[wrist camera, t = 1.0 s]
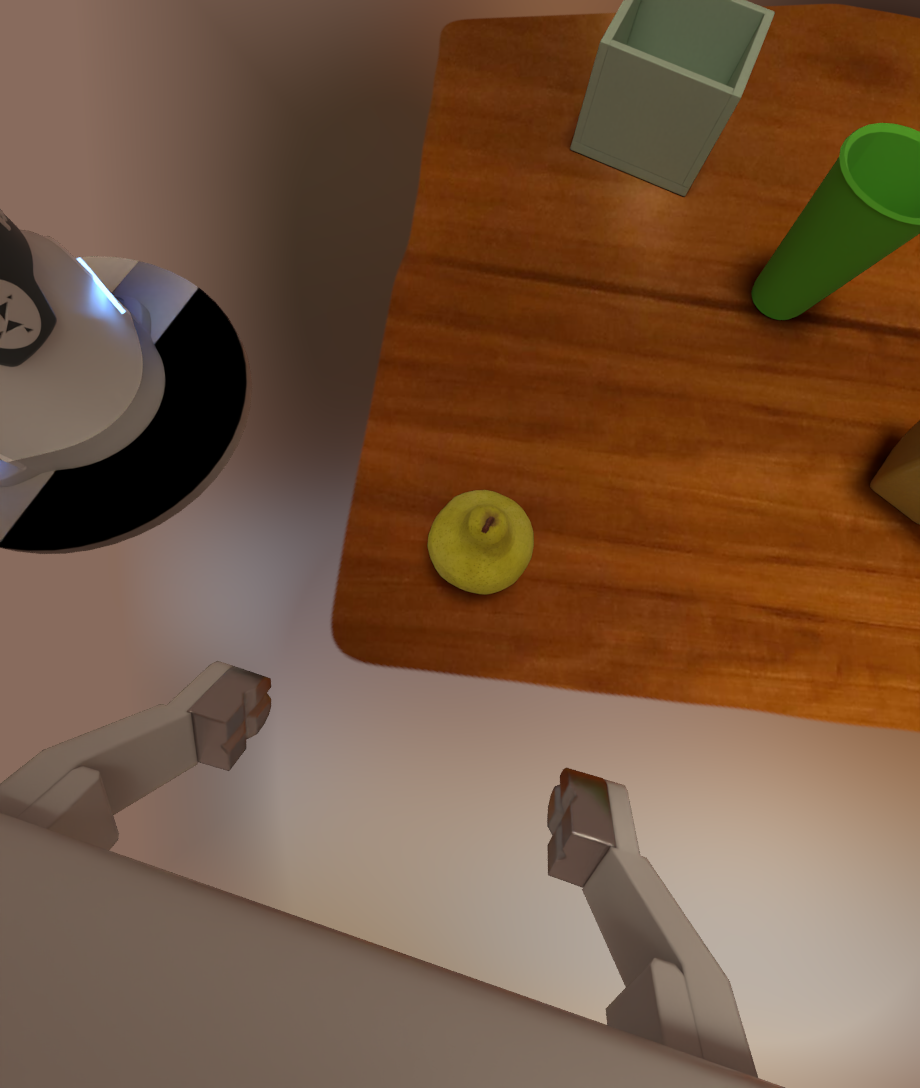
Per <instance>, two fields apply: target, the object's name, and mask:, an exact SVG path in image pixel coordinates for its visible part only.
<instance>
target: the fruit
mask: <svg viewBox="0 0 920 1088" xmlns="http://www.w3.org/2000/svg"><path fill="white" fill-rule="evenodd" d="M533 545H534V535H533V529H532V526H531V522H530V520H529V518H528V517H527V515H526V513H525V512H524V511H523V509H522V508H521V507H520V506H519V505H518V504H517V503H516V502H515V501H513V500H511V499H509V498H507V497H505V496H503V495H501V494H499V493H496V492H493V491H488V490H477V491H471V492H466V493H463V494H460V495H458V496H456V497H454V498H453V499H452V500H451V501H450V502H449V503H448V504H447V505H446V506H445V507H444V508H443V509H442V510H441V511H440V513H439V514H438V515H437V517H436V518H435V520H434V522H433V524H432V526H431V529H430V532H429V535H428V544H427V547H428V551H429V555H430V558H431V560H432V563H433V565H434V567H435V569H436V570H437V572H438V573H439V574H440V576H441V577H442V578H444V579H445V580H446V581H448V582H449V583H451V584H452V585H454V586H456V587H458V588H460V589H462V590H465V591H468V592H472V593H476V594H486V595H488V594H492V593H495V592H498V591H501V590H503V589H505V588H507V587H509V586H510V585H512V584H514V583H515V581H516V580H517V579H518V578H519V577H520V576H521V574H522V573H523V572H524V570H525V569H526V567H527V565H528V563H529V561H530V559H531V557H532V552H533Z"/></svg>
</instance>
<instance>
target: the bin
mask: <svg viewBox="0 0 920 1088" xmlns="http://www.w3.org/2000/svg"><path fill="white" fill-rule="evenodd" d="M774 14H775V12H774V11H771V10H769V9H767V10H766V8H763V7H761V6H758V5H756V4H753V3H751V2H748V1H746V0H624V1H623V3H622V4H621V6H620V8H619V10H618V11H617V13H616V15H615V17H614V18H613V20H612V22H611V24H610V26H609V27H608V29H607V31H606V33H605V34H604V36H603V38H602V40H601V41H600V45H599V48H598V52H597V55H596V59H595V62H594V66H593V70H592V73H591V77H590V80H589V84H588V87H587V91H586V94H585V98H584V101H583V105H582V109H581V112H580V116H579V119H578V123H577V126H576V130H575V133H574V137H573V141H572V144H571V148H570V149H571V150H573V151H575V152H578V153H580V154H583V155H585V156H587V157H590V158H592V159H595V160H597V161H599V162H602V163H604V164H607V165H609V166H612V167H614V168H616V169H619V170H621V171H624V172H626V173H628V174H631V175H633V176H636V177H638V178H640V179H643V180H645V181H648V182H650V183H652V184H655V185H657V186H660V187H662V188H665V189H667V190H669V191H672V192H674V193H677V194H679V195H681V196H684V197H685V195H686V194H687V192H688V190H689V188H690V187H691V185H692V183H693V181H694V180H695V178H696V176H697V174H698V173H699V171H700V169H701V167H702V165H703V164H704V162H705V160H706V158H707V157H708V155H709V153H710V151H711V150H712V148H713V146H714V144H715V143H716V141H717V139H718V137H719V136H720V134H721V132H722V130H723V129H724V127H725V125H726V123H727V121H728V120H729V118H730V116H731V114H732V113H733V111H734V109H735V107H736V106H737V104H738V102H739V100H740V99H741V96H742V94H743V91H744V89H745V86H746V84H747V81H748V79H749V76H750V74H751V71H752V69H753V66H754V64H755V61H756V59H757V56H758V54H759V51H760V49H761V46H762V44H763V41H764V39H765V36H766V34H767V31H768V29H769V26H770V24H771V21H772V19H773V16H774Z"/></svg>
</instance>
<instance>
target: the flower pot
mask: <svg viewBox="0 0 920 1088" xmlns="http://www.w3.org/2000/svg"><path fill="white" fill-rule="evenodd" d="M870 487H871V489H872V490H873V491H874V492H876V493H877V494H878V495H880V496H881V497H882V498H884V499H885V500H886V501H888V502H889V503H890V504H892V505H893V506H894V507H896V508H897V509H898V510H899V511H901V512H902V513H903V514H904V515H906V516H907V517H908V518H910V519H911V520H912V521H914V522H915V523H917V524H920V420H919V421H918V422H917V423H916V424H915V425H914V426H913V427H912V428H911V429H910V430H909V431H908V432H907V433H906V434H905V435H904V436H903V438H902V439H901V440H900V441H899V442H898V443H897V445H896V446H895V447H894V448H893V449H892V451H891V453H890V454H889V456H888V457H887V459H886V460H885V462H884V463H883V465H882V466H881V468H880V469H879V471H878V472H877V474H876V475H875V476H874V478H873V479H872V481H871V483H870Z"/></svg>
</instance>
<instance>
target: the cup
mask: <svg viewBox="0 0 920 1088" xmlns="http://www.w3.org/2000/svg"><path fill="white" fill-rule="evenodd" d="M919 233H920V132H919V131H916V130H914V129H912V128H909V127H905V126H901V125H897V124H889V123H877V124H870V125H867V126H864V127H862V128H860V129H858V130H856V131H855V132H853V133H852V134H851V135H850V136H849V137H847V138H846V139H845V141H844V143H843V145H842V146H841V149H840V156H839V158H838V159H837V161H836V162H835V164H834V165H833V167H832V168H831V170H830V171H829V173H828V174H827V176H826V177H825V179H824V180H823V182H822V183H821V184H820V186H819V187H818V189H817V190H816V192H815V193H814V195H813V196H812V198H811V199H810V201H809V202H808V204H807V205H806V207H805V208H804V210H803V211H802V213H801V214H800V216H799V217H798V219H797V220H796V221H795V223H794V224H793V226H792V227H791V229H790V230H789V232H788V233H787V235H786V236H785V238H784V239H783V241H782V242H781V244H780V245H779V247H778V248H777V250H776V251H775V253H774V254H773V255H772V257H771V258H770V260H769V261H768V263H767V264H766V266H765V267H764V269H763V270H762V272H761V273H760V275H759V276H758V278H757V279H756V281H755V283H754V287H753V289H752V299H753V302H754V304H755V305H756V307H757V308H758V309H759V310H760V311H761V312H762V313H763V314H765V315H766V316H768V317H770V318H772V319H776V320H788V319H791V318H793V317H796V316H798V315H800V314H802V313H803V312H805V311H806V310H808V309H809V308H811V307H812V306H814V305H815V304H817V303H818V302H820V301H821V300H822V299H824V298H825V297H827V296H828V295H830V294H831V293H833V292H834V291H836V290H837V289H839V288H840V287H842V286H843V285H845V284H846V283H847V282H849V281H850V280H852V279H853V278H855V277H856V276H858V275H859V274H861V273H862V272H864V271H865V270H867V269H868V268H870V267H871V266H872V265H874V264H875V263H877V262H878V261H880V260H881V259H883V258H884V257H886V256H887V255H889V254H890V253H892V252H893V251H895V250H896V249H897V248H899V247H900V246H902V245H903V244H905V243H906V242H908V241H909V240H911V239H912V238H914V237H915V236H917V235H918V234H919Z"/></svg>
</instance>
